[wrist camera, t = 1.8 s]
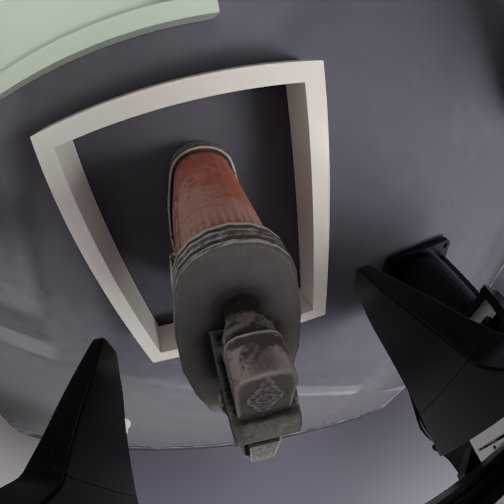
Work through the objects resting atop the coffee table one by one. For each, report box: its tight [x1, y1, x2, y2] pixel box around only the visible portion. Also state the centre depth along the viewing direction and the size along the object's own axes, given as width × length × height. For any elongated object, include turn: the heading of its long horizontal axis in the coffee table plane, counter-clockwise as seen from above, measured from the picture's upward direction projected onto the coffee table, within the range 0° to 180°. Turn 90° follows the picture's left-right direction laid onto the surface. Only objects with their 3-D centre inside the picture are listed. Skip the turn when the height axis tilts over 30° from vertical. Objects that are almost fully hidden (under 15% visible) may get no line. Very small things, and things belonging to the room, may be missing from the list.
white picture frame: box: [30, 60, 330, 363], centre depth 13 cm, size 11×14×2 cm
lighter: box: [167, 141, 302, 461], centre depth 10 cm, size 8×3×10 cm, turn 0°
